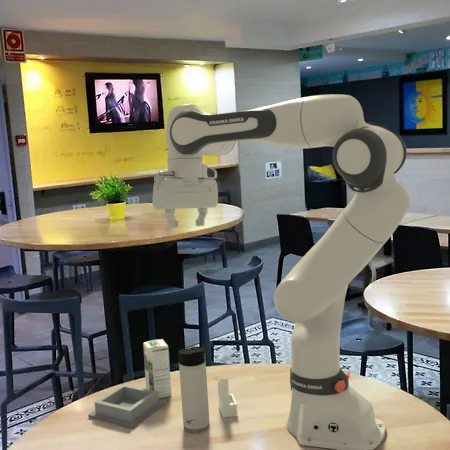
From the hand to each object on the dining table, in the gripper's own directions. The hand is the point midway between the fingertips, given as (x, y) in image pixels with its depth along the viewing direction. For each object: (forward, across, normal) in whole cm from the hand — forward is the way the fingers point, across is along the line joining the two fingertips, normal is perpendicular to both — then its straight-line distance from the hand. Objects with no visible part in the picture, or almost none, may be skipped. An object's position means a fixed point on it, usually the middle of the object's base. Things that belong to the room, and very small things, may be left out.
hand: (187, 227), depth 147 cm
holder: (+47, -9, +15) cm, 50 cm away
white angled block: (+47, +5, -7) cm, 48 cm away
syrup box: (+46, +2, +15) cm, 48 cm away
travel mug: (+48, -5, -6) cm, 49 cm away
